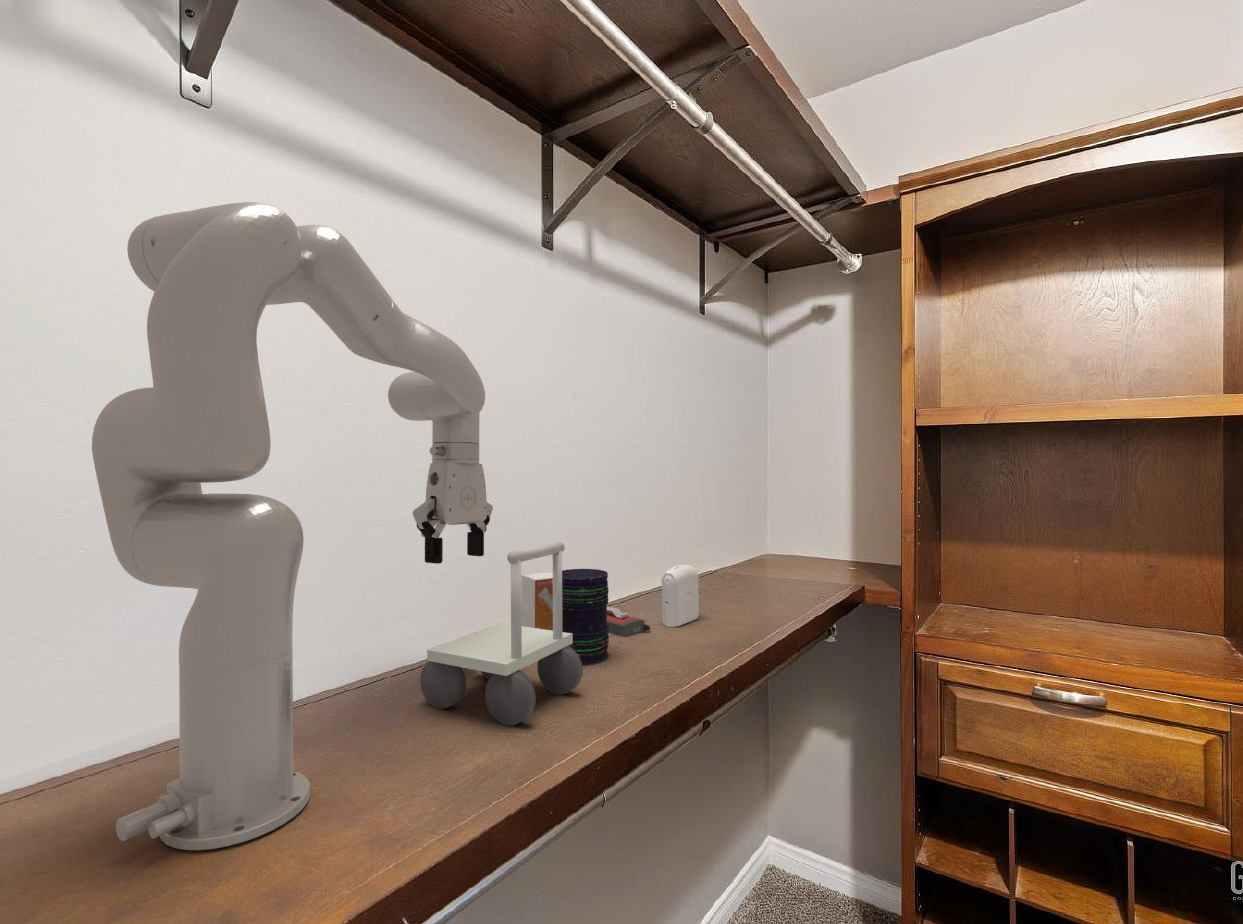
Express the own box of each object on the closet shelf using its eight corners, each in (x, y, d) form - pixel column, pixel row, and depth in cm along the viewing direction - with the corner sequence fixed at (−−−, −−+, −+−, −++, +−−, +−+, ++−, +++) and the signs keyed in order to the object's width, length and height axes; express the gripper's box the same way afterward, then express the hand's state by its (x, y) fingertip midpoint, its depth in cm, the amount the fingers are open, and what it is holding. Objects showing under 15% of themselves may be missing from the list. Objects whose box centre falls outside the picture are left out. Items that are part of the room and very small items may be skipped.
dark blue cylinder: (600, 646, 114) (600, 567, 115) (616, 662, 105) (615, 576, 105) (548, 651, 111) (548, 570, 111) (560, 668, 102) (559, 580, 102)
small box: (534, 649, 113) (534, 579, 113) (520, 641, 118) (520, 574, 118) (572, 642, 117) (572, 575, 117) (557, 634, 123) (557, 570, 123)
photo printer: (676, 629, 126) (675, 569, 126) (659, 625, 129) (658, 567, 129) (701, 618, 134) (701, 563, 134) (685, 616, 137) (685, 561, 137)
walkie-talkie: (657, 632, 125) (594, 615, 140) (657, 611, 125) (594, 596, 140) (627, 641, 119) (564, 622, 134) (627, 619, 119) (564, 602, 134)
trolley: (522, 733, 77) (521, 555, 77) (414, 707, 86) (413, 547, 86) (586, 691, 91) (585, 541, 92) (488, 672, 100) (487, 535, 100)
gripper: (434, 452, 90) (433, 567, 90) (507, 456, 105) (506, 554, 105) (398, 453, 94) (397, 564, 93) (474, 456, 109) (473, 552, 109)
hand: (455, 559), depth 99 cm, fingers open, 9 cm apart
